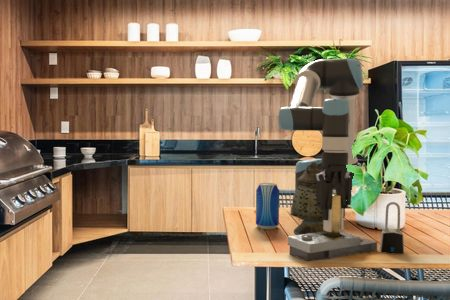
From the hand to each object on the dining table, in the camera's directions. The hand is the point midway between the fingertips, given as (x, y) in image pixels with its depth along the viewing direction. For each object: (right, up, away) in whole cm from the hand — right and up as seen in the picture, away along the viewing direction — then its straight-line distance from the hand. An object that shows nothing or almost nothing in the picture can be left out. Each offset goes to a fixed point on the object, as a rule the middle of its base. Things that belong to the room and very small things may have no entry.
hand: (333, 229), depth 136 cm
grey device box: (0, -7, 0) cm, 7 cm away
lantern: (-2, -6, +23) cm, 24 cm away
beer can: (-17, -5, +32) cm, 37 cm away
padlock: (+18, -7, +1) cm, 19 cm away
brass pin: (0, -5, 0) cm, 5 cm away
